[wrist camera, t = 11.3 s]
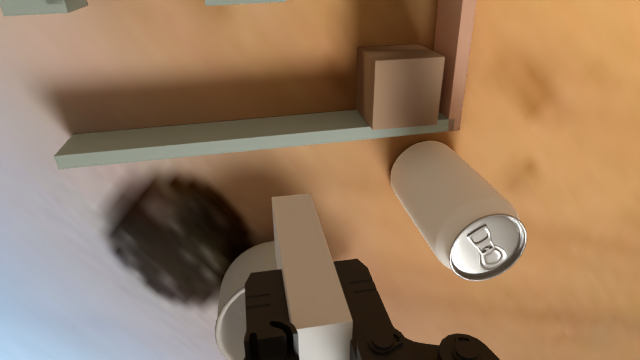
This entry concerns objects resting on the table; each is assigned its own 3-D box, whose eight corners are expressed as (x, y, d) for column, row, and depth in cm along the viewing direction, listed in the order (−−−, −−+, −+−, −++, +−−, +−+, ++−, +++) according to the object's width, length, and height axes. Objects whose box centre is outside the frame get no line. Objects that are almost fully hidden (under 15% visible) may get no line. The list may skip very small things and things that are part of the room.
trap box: (77, 146, 33) (58, 169, 30) (-13, -130, 25) (-53, -144, 22) (438, 113, 37) (459, 130, 34) (464, -135, 29) (495, -146, 26)
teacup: (200, 294, 42) (193, 362, 35) (248, 207, 38) (250, 264, 31) (323, 328, 47) (338, 393, 40) (374, 254, 43) (401, 311, 37)
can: (408, 213, 42) (465, 300, 31) (376, 165, 39) (427, 245, 28) (465, 176, 41) (544, 253, 30) (437, 124, 38) (515, 190, 27)
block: (355, 108, 36) (372, 129, 32) (357, 46, 34) (375, 60, 29) (413, 104, 37) (437, 124, 32) (418, 43, 34) (445, 56, 30)
